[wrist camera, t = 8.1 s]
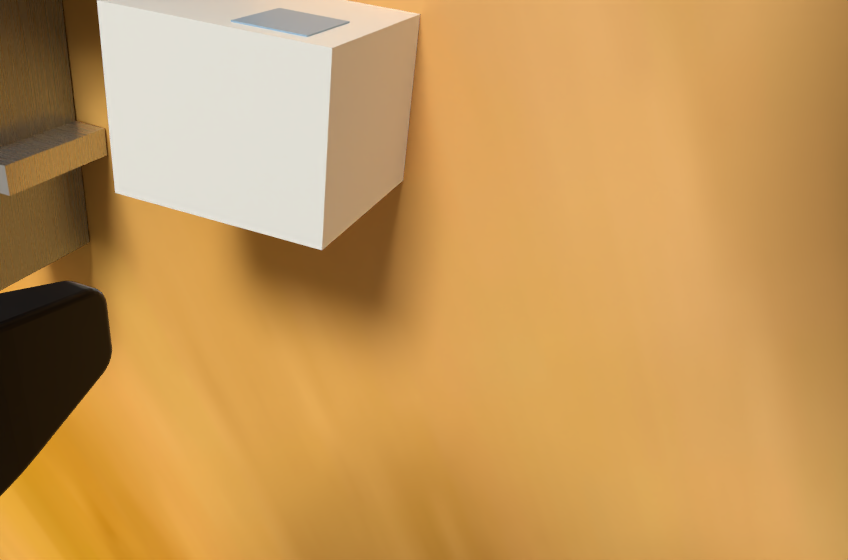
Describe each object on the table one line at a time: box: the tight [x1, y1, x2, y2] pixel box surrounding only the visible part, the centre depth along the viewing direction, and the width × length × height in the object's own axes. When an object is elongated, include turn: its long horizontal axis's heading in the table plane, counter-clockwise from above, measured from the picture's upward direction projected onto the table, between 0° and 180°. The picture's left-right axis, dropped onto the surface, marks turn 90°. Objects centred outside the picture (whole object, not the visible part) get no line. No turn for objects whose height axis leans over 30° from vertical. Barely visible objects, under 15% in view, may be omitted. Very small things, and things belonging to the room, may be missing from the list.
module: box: [97, 0, 420, 250], centre depth 17 cm, size 5×4×4 cm
